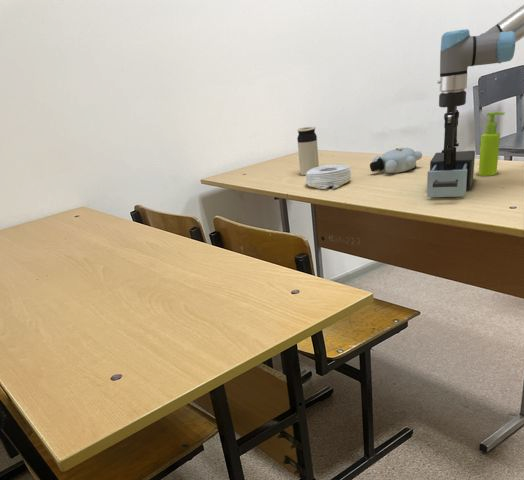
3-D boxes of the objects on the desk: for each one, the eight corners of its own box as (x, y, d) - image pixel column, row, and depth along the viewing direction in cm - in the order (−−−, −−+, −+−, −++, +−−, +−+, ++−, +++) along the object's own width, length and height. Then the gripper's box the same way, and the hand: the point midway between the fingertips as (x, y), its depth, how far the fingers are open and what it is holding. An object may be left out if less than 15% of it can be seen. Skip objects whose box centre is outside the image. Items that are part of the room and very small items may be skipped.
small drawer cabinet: (469, 190, 171) (471, 159, 166) (429, 191, 175) (430, 161, 171) (473, 179, 182) (475, 150, 177) (435, 181, 187) (435, 152, 182)
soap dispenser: (497, 175, 182) (503, 113, 173) (476, 175, 186) (480, 114, 176) (501, 171, 186) (506, 110, 177) (480, 172, 190) (485, 111, 180)
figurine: (407, 161, 218) (363, 175, 216) (405, 140, 214) (360, 154, 212) (430, 168, 203) (383, 183, 201) (428, 145, 199) (380, 160, 197)
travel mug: (307, 176, 220) (304, 130, 212) (296, 174, 226) (292, 129, 218) (323, 172, 224) (319, 126, 215) (311, 170, 230) (308, 126, 221)
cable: (332, 191, 193) (331, 174, 190) (296, 188, 204) (294, 172, 201) (360, 179, 203) (359, 163, 200) (323, 177, 215) (322, 162, 212)
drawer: (464, 200, 158) (465, 174, 154) (424, 201, 163) (425, 175, 159) (468, 185, 173) (470, 160, 169) (432, 186, 177) (433, 162, 173)
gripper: (443, 89, 165) (440, 165, 175) (435, 95, 149) (432, 179, 159) (468, 87, 162) (464, 164, 173) (463, 93, 146) (459, 178, 156)
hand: (449, 171), depth 166 cm, fingers open, 8 cm apart
